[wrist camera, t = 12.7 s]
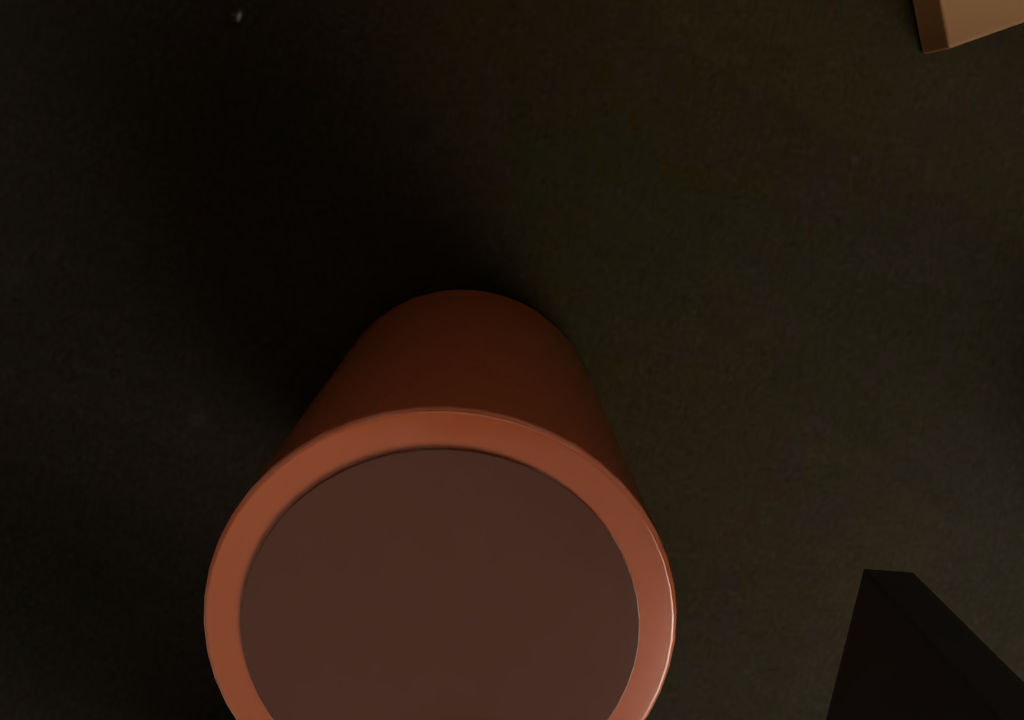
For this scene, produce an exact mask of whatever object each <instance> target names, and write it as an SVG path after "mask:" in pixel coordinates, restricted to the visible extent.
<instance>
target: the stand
mask: <svg viewBox="0 0 1024 720" xmlns="http://www.w3.org/2000/svg"><path fill="white" fill-rule="evenodd" d="M913 5H914V10H915V15H916V21H917V26H918V31H919V36H920V41H921V46H922V52H923V53H924V54H928V53H933V52H937V51H941V50H945V49H950V48H953V47H956V46H959V45H961V44H964V43H967V42H970V41H973V40H975V39H978V38H981V37H984V36H987V35H990V34H992V33H995V32H998V31H1001V30H1004V29H1006V28H1009V27H1012V26H1015V25H1018V24H1021V23H1023V22H1024V0H913Z"/></svg>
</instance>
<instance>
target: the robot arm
mask: <svg viewBox="0 0 1024 720" xmlns="http://www.w3.org/2000/svg"><path fill="white" fill-rule="evenodd" d="M826 720H1024V682H1023V681H1022V680H1021V679H1020V678H1019V677H1018V676H1017V675H1016V674H1015V673H1014V672H1013V671H1012V670H1011V669H1010V668H1009V667H1008V666H1007V665H1006V664H1005V663H1004V662H1002V661H1001V660H1000V659H999V658H998V657H997V656H996V655H995V654H994V653H993V652H992V651H991V650H990V649H989V648H988V647H987V646H986V645H985V644H984V643H983V642H982V641H981V640H980V639H979V638H978V637H977V636H976V635H975V634H974V633H973V632H972V631H971V630H970V629H969V628H968V627H967V626H966V625H965V624H964V623H963V622H962V621H961V620H960V619H959V618H958V617H957V616H956V615H955V614H954V613H953V612H952V611H951V610H950V609H949V608H948V607H947V606H946V605H945V604H944V603H943V602H942V601H941V600H940V599H939V598H938V597H937V596H936V595H935V594H934V593H933V592H932V591H931V590H930V589H929V588H928V587H927V586H926V585H925V584H924V583H923V582H922V581H921V580H920V579H919V578H918V577H917V576H916V575H915V574H914V573H910V572H896V571H883V570H869V569H864V572H863V576H862V580H861V584H860V588H859V592H858V596H857V600H856V604H855V608H854V612H853V615H852V619H851V623H850V627H849V631H848V635H847V639H846V643H845V647H844V651H843V655H842V659H841V663H840V667H839V671H838V675H837V679H836V683H835V687H834V691H833V695H832V699H831V703H830V707H829V711H828V715H827V719H826Z"/></svg>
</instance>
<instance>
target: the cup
mask: <svg viewBox="0 0 1024 720" xmlns="http://www.w3.org/2000/svg"><path fill="white" fill-rule="evenodd" d="M676 622H677V605H676V594H675V584H674V580H673V575H672V571H671V567H670V563H669V559H668V556H667V553H666V551H665V549H664V546H663V544H662V541H661V539H660V536H659V534H658V531H657V529H656V527H655V525H654V522H653V520H652V518H651V516H650V513H649V511H648V509H647V507H646V504H645V502H644V500H643V498H642V496H641V493H640V491H639V489H638V487H637V484H636V482H635V480H634V478H633V475H632V473H631V471H630V469H629V466H628V464H627V462H626V460H625V457H624V455H623V453H622V451H621V448H620V446H619V444H618V442H617V439H616V437H615V435H614V433H613V430H612V428H611V426H610V424H609V421H608V419H607V417H606V415H605V412H604V410H603V408H602V406H601V403H600V401H599V399H598V397H597V394H596V392H595V390H594V388H593V386H592V383H591V381H590V379H589V377H588V374H587V372H586V370H585V368H584V365H583V363H582V361H581V359H580V358H579V356H578V354H577V352H576V351H575V349H574V347H573V346H572V345H571V343H570V342H569V341H568V340H567V338H566V337H565V336H564V334H563V333H562V332H561V331H560V330H559V329H558V328H557V327H556V326H555V325H553V324H552V323H551V322H550V321H549V320H548V319H546V318H545V317H544V316H542V315H541V314H540V313H538V312H537V311H535V310H533V309H532V308H530V307H528V306H526V305H524V304H523V303H521V302H518V301H516V300H513V299H511V298H508V297H506V296H502V295H498V294H494V293H490V292H485V291H476V290H448V291H441V292H434V293H430V294H427V295H423V296H420V297H416V298H414V299H412V300H409V301H407V302H405V303H402V304H400V305H398V306H397V307H395V308H393V309H392V310H390V311H388V312H387V313H385V314H384V315H383V316H381V317H380V318H379V319H378V320H376V321H375V322H374V323H373V324H371V326H370V327H369V328H368V329H367V330H366V331H365V332H364V333H363V334H362V335H361V336H360V337H359V339H358V340H357V341H356V343H355V344H354V345H353V347H352V348H351V350H350V351H349V352H348V354H347V355H346V357H345V358H344V359H343V361H342V362H341V363H340V365H339V366H338V368H337V369H336V370H335V372H334V373H333V374H332V376H331V377H330V379H329V380H328V381H327V383H326V384H325V385H324V387H323V388H322V390H321V391H320V392H319V394H318V395H317V396H316V398H315V399H314V401H313V402H312V403H311V405H310V406H309V408H308V409H307V410H306V412H305V413H304V414H303V416H302V417H301V419H300V420H299V421H298V423H297V424H296V425H295V427H294V428H293V430H292V431H291V432H290V434H289V435H288V436H287V438H286V439H285V441H284V442H283V443H282V445H281V446H280V448H279V449H278V450H277V452H276V453H275V454H274V456H273V457H272V459H271V460H270V461H269V463H268V464H267V465H266V467H265V468H264V470H263V471H262V472H261V474H260V475H259V476H258V478H257V479H256V481H255V482H254V483H253V485H252V486H251V487H250V489H249V490H248V492H247V493H246V494H245V496H244V497H243V499H242V500H241V501H240V503H239V504H238V505H237V507H236V508H235V510H234V511H233V512H232V514H231V516H230V518H229V520H228V522H227V524H226V525H225V527H224V529H223V531H222V533H221V535H220V537H219V539H218V542H217V545H216V548H215V551H214V554H213V556H212V559H211V562H210V565H209V570H208V576H207V581H206V587H205V592H204V629H205V637H206V645H207V652H208V655H209V659H210V663H211V666H212V670H213V674H214V677H215V679H216V682H217V684H218V686H219V689H220V691H221V693H222V695H223V698H224V700H225V702H226V704H227V705H228V707H229V709H230V710H231V712H232V714H233V715H234V717H235V718H236V720H645V719H646V718H647V716H648V715H649V713H650V711H651V709H652V707H653V705H654V703H655V701H656V699H657V697H658V696H659V694H660V692H661V689H662V686H663V683H664V681H665V678H666V675H667V672H668V669H669V667H670V663H671V658H672V653H673V648H674V643H675V638H676Z"/></svg>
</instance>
